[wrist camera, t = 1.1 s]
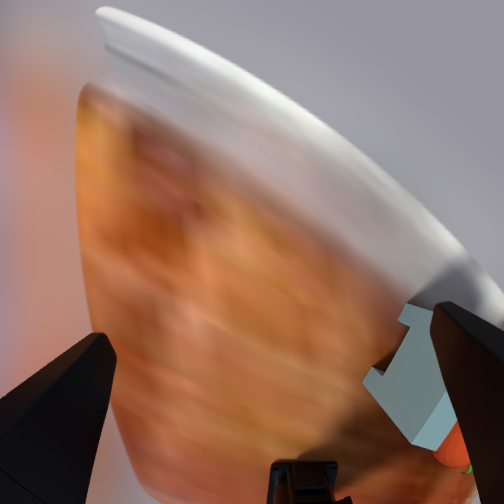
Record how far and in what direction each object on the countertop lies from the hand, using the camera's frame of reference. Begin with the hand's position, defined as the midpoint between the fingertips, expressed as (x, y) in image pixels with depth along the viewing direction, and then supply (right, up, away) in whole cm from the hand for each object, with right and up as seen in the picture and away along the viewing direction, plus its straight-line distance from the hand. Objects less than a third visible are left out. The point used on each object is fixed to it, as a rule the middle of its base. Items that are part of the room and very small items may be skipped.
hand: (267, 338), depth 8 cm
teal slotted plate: (+12, -6, +18) cm, 23 cm away
